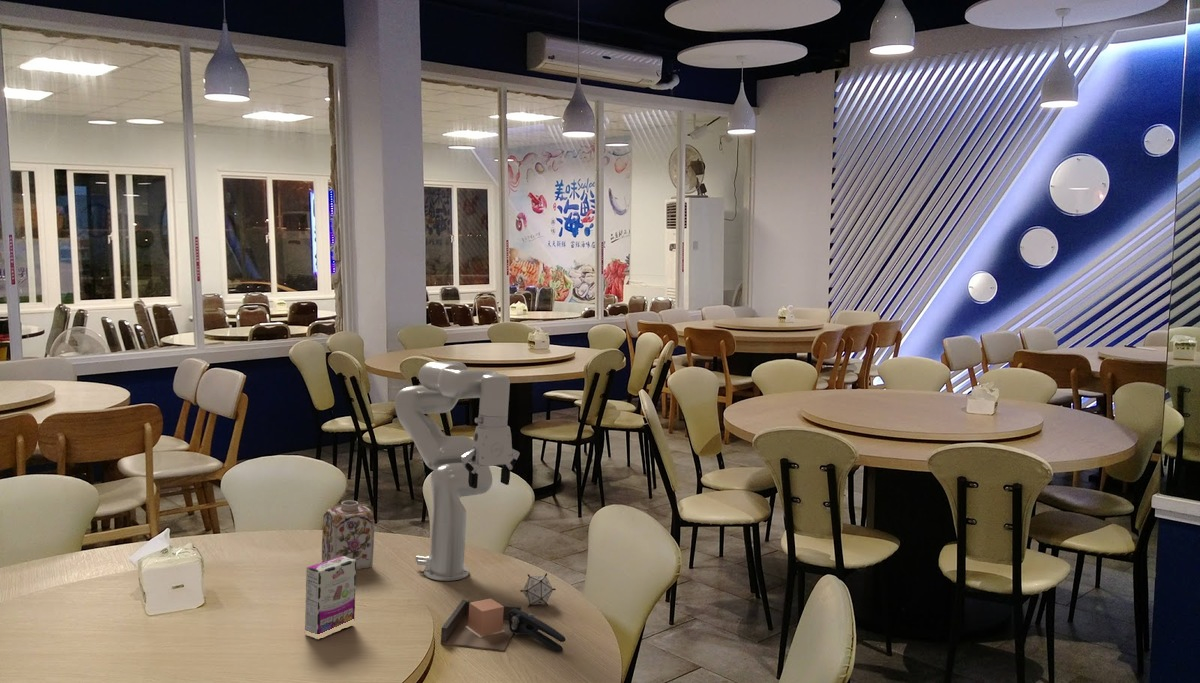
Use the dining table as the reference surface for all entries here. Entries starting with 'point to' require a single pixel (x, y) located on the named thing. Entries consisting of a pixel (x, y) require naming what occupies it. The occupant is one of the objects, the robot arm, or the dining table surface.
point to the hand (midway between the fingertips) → (488, 485)
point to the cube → (485, 616)
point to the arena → (463, 636)
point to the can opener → (534, 628)
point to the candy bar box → (330, 594)
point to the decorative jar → (349, 533)
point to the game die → (537, 590)
